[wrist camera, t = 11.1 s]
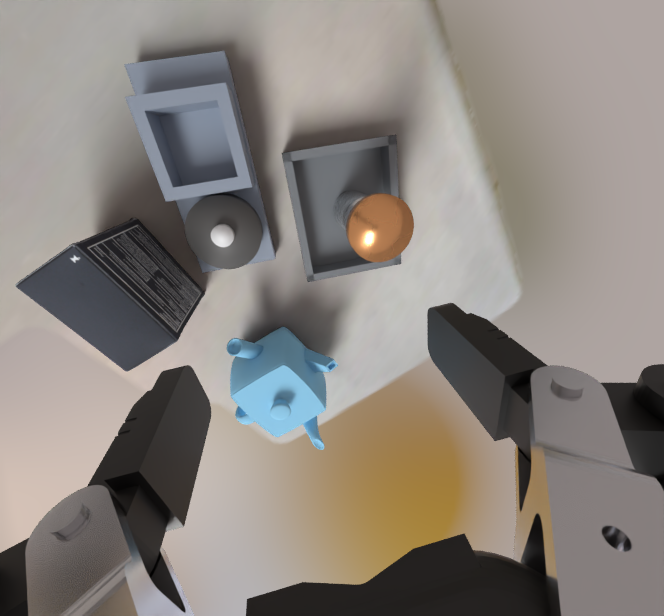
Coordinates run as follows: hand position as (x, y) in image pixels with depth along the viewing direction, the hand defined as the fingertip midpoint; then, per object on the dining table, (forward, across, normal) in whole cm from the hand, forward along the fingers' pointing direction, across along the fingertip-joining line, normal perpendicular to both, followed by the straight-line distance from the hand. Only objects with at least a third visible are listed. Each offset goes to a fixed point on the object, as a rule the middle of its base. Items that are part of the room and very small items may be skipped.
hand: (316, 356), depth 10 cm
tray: (+26, -6, 0) cm, 26 cm away
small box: (+26, +16, +3) cm, 31 cm away
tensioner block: (+26, +6, -5) cm, 27 cm away
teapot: (+26, +5, +18) cm, 32 cm away
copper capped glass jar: (+25, -7, 0) cm, 26 cm away
